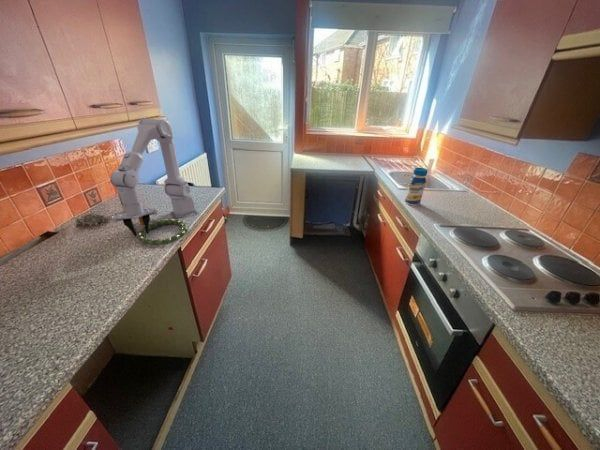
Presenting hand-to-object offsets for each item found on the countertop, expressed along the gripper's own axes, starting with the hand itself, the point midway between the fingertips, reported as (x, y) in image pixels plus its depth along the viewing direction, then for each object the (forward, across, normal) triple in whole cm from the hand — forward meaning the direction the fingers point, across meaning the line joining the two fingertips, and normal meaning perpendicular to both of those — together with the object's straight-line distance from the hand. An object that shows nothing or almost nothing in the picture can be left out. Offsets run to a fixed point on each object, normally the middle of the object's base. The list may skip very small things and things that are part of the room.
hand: (141, 233), depth 99 cm
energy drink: (+3, -3, +30) cm, 30 cm away
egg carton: (+3, -18, +26) cm, 32 cm away
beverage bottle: (+3, +133, -30) cm, 137 cm away
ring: (+1, +8, 0) cm, 8 cm away
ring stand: (+3, +1, +12) cm, 12 cm away
